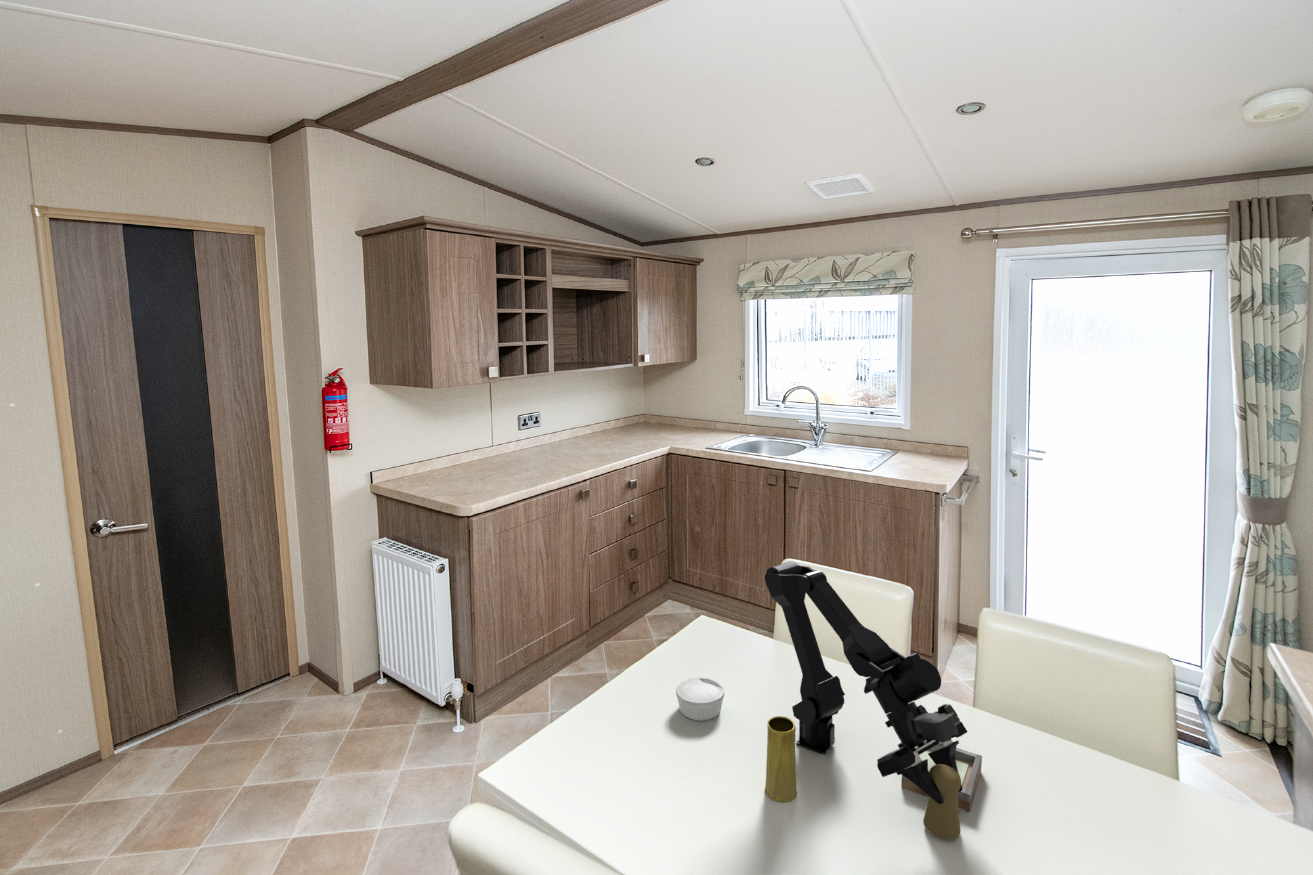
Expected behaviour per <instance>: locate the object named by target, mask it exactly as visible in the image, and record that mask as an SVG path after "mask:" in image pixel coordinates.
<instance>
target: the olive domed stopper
mask: <svg viewBox="0 0 1313 875" xmlns="http://www.w3.org/2000/svg"><path fill="white" fill-rule="evenodd" d="M929 773H930V775H931V777H932V779H933V781H934V782H935V784H936V786H937V788H938V790H939V792H940V794H941V796H942V798H943V801H944V803H943V804H938V803H937V802H936V801H934V800H933V799H932V798H931V797H930V796H929V797H927V802H926V807H925V812H924V815H923V820H922V822H923V826H924V827H925V829H926V831H928V832H929V833H930V834H932V835H933V836H935V837H937V838H940V839H943V840H954V839H957V838H958V837H959V836H960V834H961V820H960V809H959V807H958V796H957V792H958V791H959V790H960V787H961V778H960V775H959V774H958V772H957V771H956V770H955V769H954V768H952V767H950V766H948V765H944V764H937V765H934V766H933V767H932V768H931V769H930V771H929Z"/></svg>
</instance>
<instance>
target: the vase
mask: <svg viewBox="0 0 1313 875" xmlns="http://www.w3.org/2000/svg"><path fill="white" fill-rule="evenodd" d="M766 728H767V736H766V738H767V743H766V767H765V770H766V771H765V787H764V792H765V793H766V795H767V797H768V798H770V799H771V800H773V801H775V802H778V803H787V802H788V803H789V802H792V801H793V800H794V799H796V797H797V795H798V790H797V785H798V784H797V765H796V764H797V762H796V760H797V758H796V757H797V756H796V731H797V730H796V729H797V728H796V724H795V721H794V720H792V718H789V717H787V716H780V715H779V716H778V715H777V716H773V717H770V718H769V719H768V720H767V727H766Z"/></svg>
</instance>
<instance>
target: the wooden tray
mask: <svg viewBox="0 0 1313 875" xmlns="http://www.w3.org/2000/svg"><path fill="white" fill-rule="evenodd" d="M923 742H924V743H925V742H926V740H924V741H923ZM916 747H918V746H916ZM916 747H915V748H916ZM930 752H932V750H931V748H930V749H929V750H927V751H925V752H923V753H922V754H920V755H919V756H920V758H921V760H922V761H923V760H926V759H928V771H930V769H931V768H932V767H933V766H934V765H936V764H935V763H934V762H933V760H932V759H931V758H930V756H929V755H928V753H930ZM955 760H956V765H957V769H958V773H959V775H960V778H961V785H962V789H963V790H962V791H960V792H957V796H958V807H959V810H962V811H965V812H968V813H970V811H971V808H972V804H973V801H974V798H975V795H976V791H977V787H978V784H979V780H980V776H981V773H982V763H983V762H982V760H983V755H980V754H977V753H975V752H971V751H968V750H965V749H962V748H958V747H956V750H955ZM900 784H901V788H902V789H904V790H908V791H910V792H912V793H915V794H919V795H921V796H924V797H927V798H928V797H929V796H928V795H927V794H926V793H925V792H924V791H923V790H921V789H920V788H919V787H918V786H917V785H915V784H914V783H913V782H911V781H910V780H908V779H907V778H906V777H904V776H903V775H901V783H900Z"/></svg>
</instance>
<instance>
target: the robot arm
mask: <svg viewBox="0 0 1313 875" xmlns="http://www.w3.org/2000/svg"><path fill="white" fill-rule="evenodd" d="M764 582H765V585H766V587H767V590H768V593H769V594H770V597H771V598H772V600H774V601H775V602H776V603H777V604H778V605H779V606H780V608H781V609H782V611H783V614H784V619H785V622H786V625H787V629H788V632H789V635H790V638H791V641H792V645H793V648H794V651H795V654H796V658H797V662H798V664H799V667H800V670H801V674H802V676H801V681H800V687H799V692H800V698H801V701H799V702H797V703H796V704H795V705H792V713H793V717H794V718H795V719H797V720H798V722H799V723H798V725H799V729H798V730H799V731H798V738H797V739H796V740H795V745H798V746H800V747H803V748H806V749H809V750H811V751H814V752H816V753H820V754H823V755H825V754H826V753H827V751H828V750H829V749H830V748H831V747H832V746H833V744H834V743H835V739H836V737H835V733H836V732H835V731H836V729H835V728H836V727H835V723H833V716H835V715H838V713H839V711H840V710H842V709H843V707H844V705H845V698H844V696H845V695H846V694H845V692H844V690H843V688H842V685H841V679H840V677H839V676H838V675H833V674H832V673H831V672H830V671H828V670H827V669H826V666H825V663H824V660H823V657H822V654H821V651H820V647H819V645H818V641H817V638H816V634H815V632H814V628H813V625H812V622H811V619H810V615H809V612H808V610H807V609H808V608H807V606H806V602H805V600H806V595H807V596H808V598H809V599H810V600H811V602H812V603H813V604H814V606H815V607H816V608H817V609H818V611H819V612H820V613H821V615H822V616H823V617H824V619H825V621H827V623H828V624H829V625H830V627H831V628H832V629H833V631H834V632H835V633H836V634H837V636H838V637H839V639H840V640H841V642H842V647H843V648H842V649H843V654H844V656H845V658H846V659H847V661H848V663H849V665H850V667H851V668H852V669H853V671H854V673H856V674H857V675H858V676H859V677H863V678H865V684H864V685H865V686H864V687H863V693H864V694H865V695H866V694H869V693H871V692H872V693H873V695H874V696H875V698H876V700H877V702H878V703H879V706H880V707H881V709H882V710H883V712H884V714H885V716H886V717H887V719H888V720H886V721H885V722H884V723H885V725H886V727H887V728H891V727H892V729H893V731H894V732H895V734H896V735H897V737H898V739H899V740H900V743H898V744H897V747H898V749H895V750H893V751H890V752H888V753H886V754H884V755H882V756H881V757H879V758H878V759H877V761H876V762H877V763H876V767H877V769H878V771H879V773H880V775H881V776H882V778H884V777H888V776H890V775H891V776H892V775H893V774H895V773H896V775H897V776H900V775H901V776H902V775H903V776H904V777H906V778H907V779H908V780H910V781H911V782H913V783H914V784H915V785H917V786H918V787H919V788H920V789H921V790H923V791H924V792H925V793H926V794H927V795H928V796H930V797H931V798H932V799H933V800H934V801H936V802H937V803H938V804H943V803H944V801H943V798H942V796H941V794H940V792H939V790H938V788H937V786H936V784H935V782H934V781H933V779H932V777H931V775H930V773H929V771H928V759H926V760H923V761H922V760H921V758H920V756H919V755H920V754H922V753H923V752H925V751H927V750H929V749H930V748H931V750H932V752H930V753H928V755H929V756H930V758H931V759H932V760H933V762H934V763H935V764H936V765H937V764H944V765H948V766H950V767H952V768H954V769H955V770H956V771H957V772H958V769H957V765H956V760H955V750H956V748H957V746H959V744H960V741H959V740H955V741H953V738H955V739H957V738H960V737H962V736H963V735H965V734H967V733H968V730H967V728H966V727H965V725H964V724H963V722H962V721H961V719H960V717H959V715H958V713H957V712H956V710H955V709H954V707H953V706H952V704H950V703H949V704H948V703H944V704H942V705H939V707H937V711H933V712H928V710H927V709H926V708H925V706H923V704H920V705H917V704H916V702H915V701H918V700H920V699H922V698H924V697H926V696H928V695H930V694H932V693H934V692H937V691H938V690H940V689H941V686H942V677H941V674H940V671H939V670H938V668H937V667H936V666H935V665H933V664H932V663H931V662H930V661H929V660H927V659H925V658H921V657H920V655H919V653H918V652H914V653H913V654H911V655H908V656H904V655H903V654H901V653H900V652H898V651H897V650H895V649H893V648H892V647H890V646H889V644H888V643H887V642H886V641H885V640H884V639H882V638H881V636H880V635H878V634H877V632H875V631H874V630H872V629H869V628H867V627H865V625H863V624H862V623H861V622H860V621H859V620H858V619H857V617H856V616H855V615H854V613H853V612H852V610H850V608H849V607H848V605H846V603H845V602H844V601H843V599H842V598H841V596H840V595H839V594H838V593H837V592H836V590H835V589H834V588H833V586H832V585H831V584H830V583H829V581H828V579H827V576H826V574H825V573H824V572H823V571H821V570H815V569H813V568H812V567H810V566H806V565H800V564H798V563H797V562H795V561H787V562H785V563H781V564H777V565H772V566H770V567H769V568H767V569H766V572H765V574H764ZM924 740H926V742H925V743H924V742H923V741H924ZM916 746H918V747H916ZM958 774H959V773H958ZM962 790H963V789H962V785H961V787H960V790H959V791H958V792H960V791H962Z"/></svg>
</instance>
